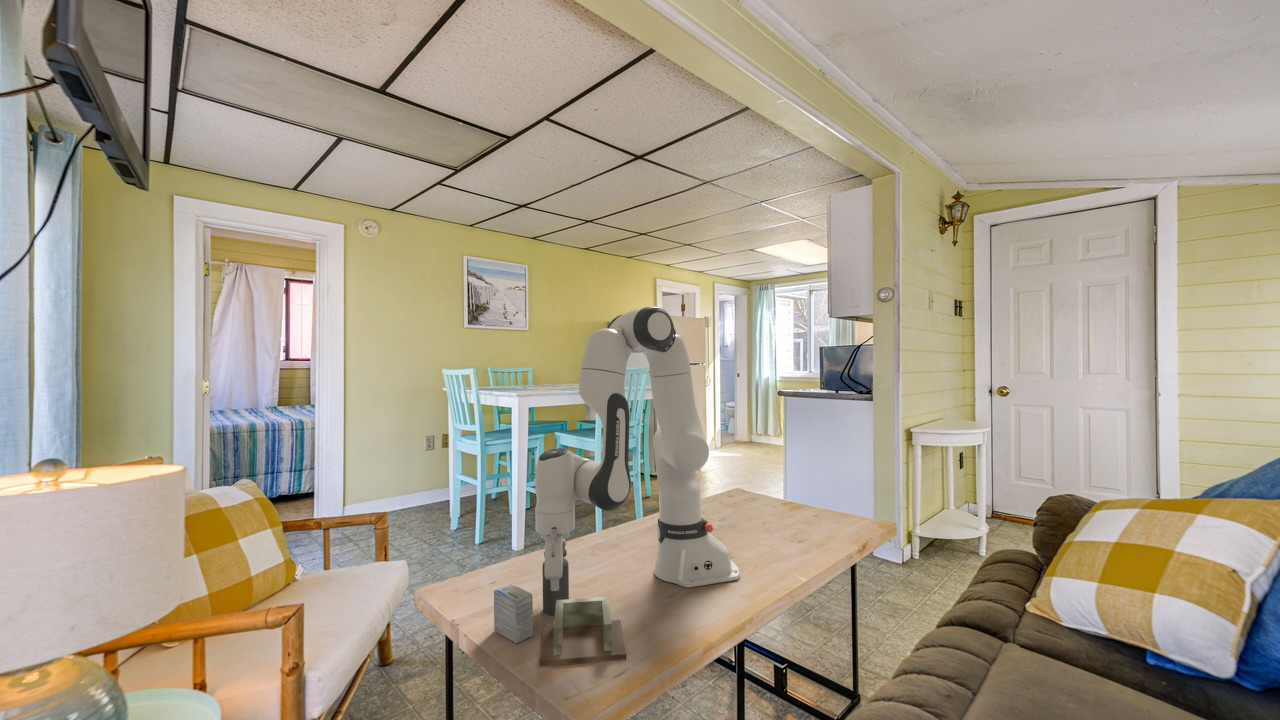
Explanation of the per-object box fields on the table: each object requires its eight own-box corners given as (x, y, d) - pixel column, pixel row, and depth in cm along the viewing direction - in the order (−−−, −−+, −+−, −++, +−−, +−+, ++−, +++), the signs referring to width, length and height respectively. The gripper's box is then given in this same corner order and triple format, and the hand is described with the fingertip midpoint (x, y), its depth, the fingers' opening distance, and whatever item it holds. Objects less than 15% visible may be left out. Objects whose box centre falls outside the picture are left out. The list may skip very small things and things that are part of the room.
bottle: (563, 617, 111) (562, 548, 111) (538, 614, 112) (538, 546, 112) (572, 604, 117) (571, 539, 117) (548, 602, 118) (548, 538, 118)
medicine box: (533, 636, 103) (533, 593, 103) (515, 645, 100) (515, 601, 100) (511, 623, 109) (511, 582, 109) (493, 631, 105) (493, 589, 105)
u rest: (620, 624, 108) (620, 595, 108) (626, 659, 95) (625, 627, 95) (544, 629, 106) (544, 601, 106) (539, 666, 93) (539, 633, 93)
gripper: (568, 535, 105) (568, 603, 104) (569, 508, 125) (570, 564, 125) (537, 537, 104) (537, 605, 104) (544, 509, 124) (544, 566, 124)
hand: (555, 582), depth 114 cm, fingers closed on bottle, 6 cm apart
